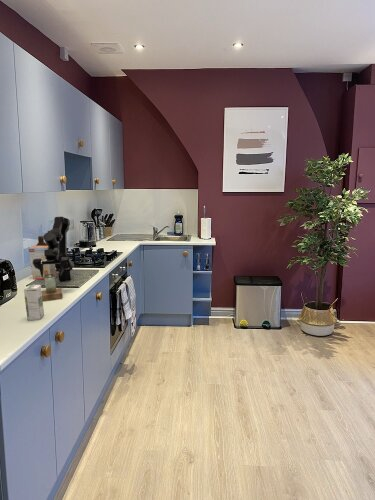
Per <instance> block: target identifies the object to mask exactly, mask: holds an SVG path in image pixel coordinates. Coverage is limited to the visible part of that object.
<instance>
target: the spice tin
mask: <svg viewBox="0 0 375 500" xmlns="http://www.w3.org/2000/svg"><path fill="white" fill-rule="evenodd" d="M44 278H45V280H44V284H45V285H44V287H45V290H46V293H55V292H56V289H57V285H56V278H55V274H47V275H44Z"/></svg>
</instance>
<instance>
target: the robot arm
mask: <svg viewBox="0 0 375 500" xmlns="http://www.w3.org/2000/svg"><path fill="white" fill-rule="evenodd" d="M53 221H54V222H53V225H52V228H51V229H50V230H47V232H46V233H44V235H42V236H43V238H44V242H45V243H46V245H47V246H48V250H44V256H45V258H46V259H47V261H42V260H41V259H34V260H33V265H34V266H35V268H37V269H39V270H40V273H41V277H43V270H44V268H43V265H45V264H55V268H56V273H57V272H58V273H57V274H58V275H57V276H58V281H59V282H60V281H63V282H69V281H72V277H71V271H73V265H72V261H71V259H70V256H68V254H67V253H68V251H67V241H68V240H67V239H68V238H67V234H68V232H69V230H70V226H71V220H70V219H69V218H67V217H64V216H55V217H54V220H53Z"/></svg>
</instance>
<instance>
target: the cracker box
mask: <svg viewBox="0 0 375 500" xmlns="http://www.w3.org/2000/svg"><path fill="white" fill-rule="evenodd" d="M44 250H48V246H36V245H31V246H29V247H28V251H29V261H30V266H31V267H30V268H31V276H32V280H35V281H36V280H38V281H39V280H40V281H42V280H43V281H45V278H44V275H47V274H55V279H57V271H56V267H55V264H45V265H43V268H44V270H43V277H41V273H40V270H39V269H37V268H35V266H34V265H33V260H34V259H41V260H42V261H47V259H46V258H45V256H44Z"/></svg>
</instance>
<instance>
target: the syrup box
mask: <svg viewBox="0 0 375 500" xmlns="http://www.w3.org/2000/svg"><path fill="white" fill-rule="evenodd" d="M42 291H43V290H42V285H41V284H31V285H27V286H26V287H24V288H23V295H24V303H25V310H26V311H25V312H26V318H27V321H37V320H39V321H40V320H42V318H43V317H44V316H45V312H44V302H43V300H42Z"/></svg>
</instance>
